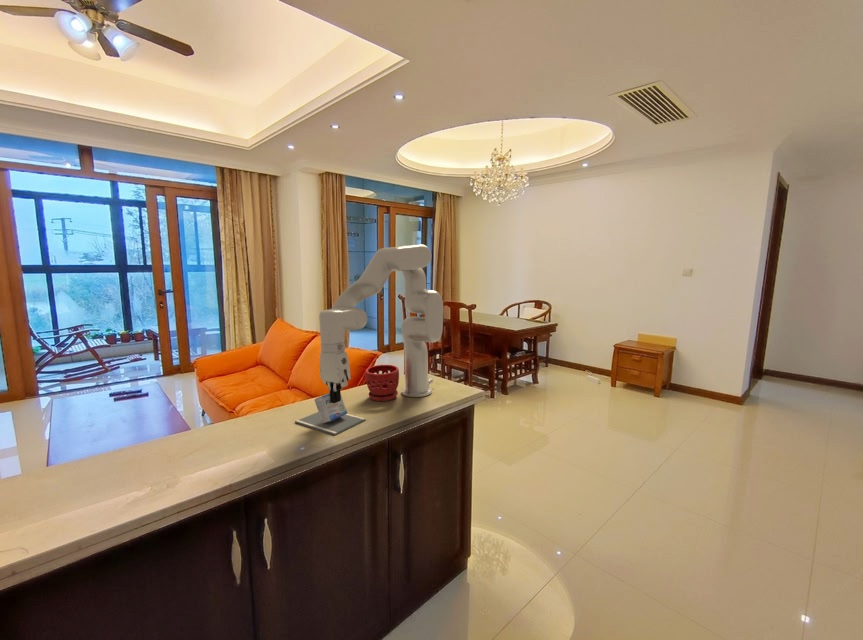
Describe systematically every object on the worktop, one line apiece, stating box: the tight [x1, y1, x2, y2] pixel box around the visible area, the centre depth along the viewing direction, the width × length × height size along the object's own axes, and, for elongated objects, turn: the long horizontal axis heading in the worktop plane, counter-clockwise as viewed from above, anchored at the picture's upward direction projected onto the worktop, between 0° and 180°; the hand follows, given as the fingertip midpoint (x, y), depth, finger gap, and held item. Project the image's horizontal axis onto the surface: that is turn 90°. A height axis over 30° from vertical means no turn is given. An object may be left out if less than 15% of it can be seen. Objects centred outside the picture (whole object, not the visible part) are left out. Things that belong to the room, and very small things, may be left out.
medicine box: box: [314, 392, 348, 423], centre depth 131 cm, size 8×4×9 cm, turn 147°
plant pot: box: [365, 364, 400, 402], centre depth 154 cm, size 13×13×12 cm
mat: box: [294, 411, 366, 436], centre depth 132 cm, size 14×19×1 cm
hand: (335, 401), depth 129 cm, fingers closed
